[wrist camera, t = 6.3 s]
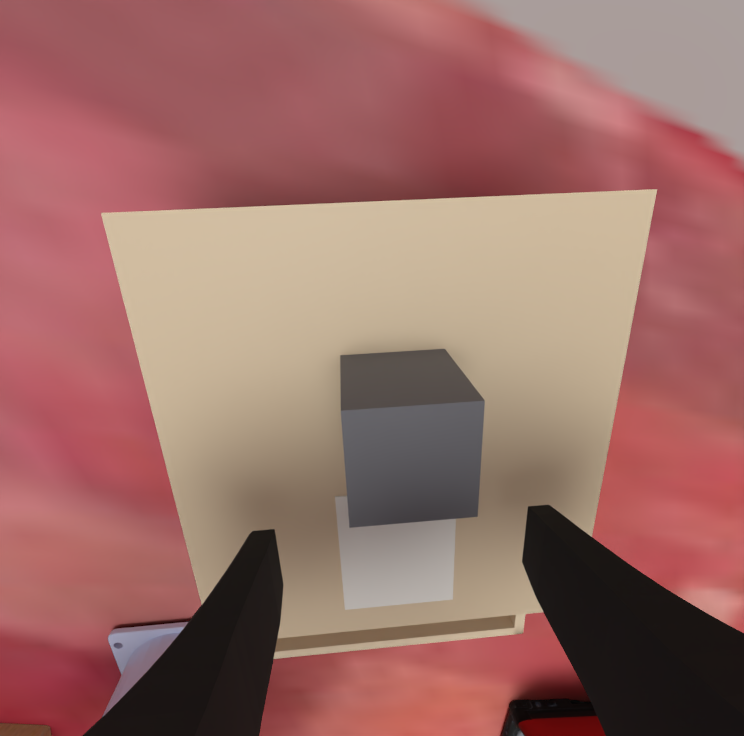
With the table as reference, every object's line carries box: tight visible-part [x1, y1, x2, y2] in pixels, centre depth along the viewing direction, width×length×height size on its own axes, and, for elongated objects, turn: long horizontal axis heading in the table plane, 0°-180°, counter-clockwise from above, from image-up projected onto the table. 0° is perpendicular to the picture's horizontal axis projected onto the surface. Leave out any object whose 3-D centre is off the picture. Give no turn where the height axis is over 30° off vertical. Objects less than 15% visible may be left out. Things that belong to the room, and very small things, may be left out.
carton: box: [274, 614, 525, 659], centre depth 21 cm, size 15×14×4 cm
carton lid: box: [101, 189, 657, 638], centre depth 12 cm, size 15×14×4 cm
